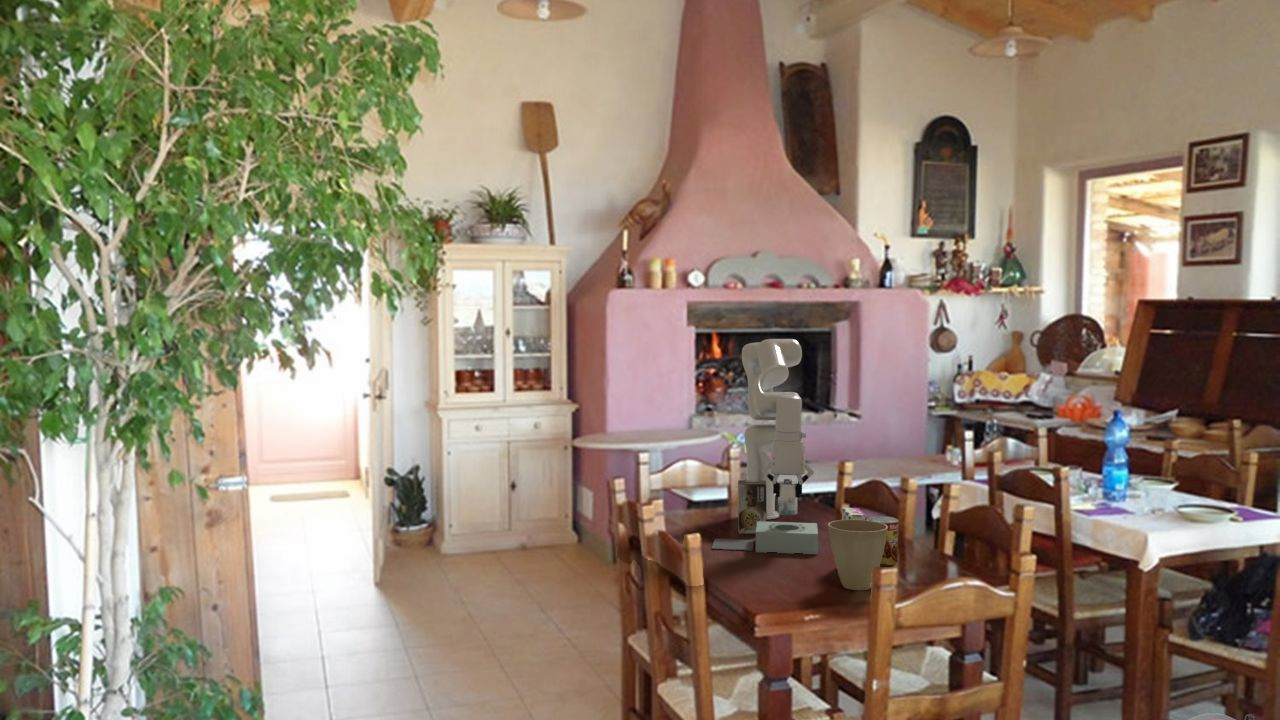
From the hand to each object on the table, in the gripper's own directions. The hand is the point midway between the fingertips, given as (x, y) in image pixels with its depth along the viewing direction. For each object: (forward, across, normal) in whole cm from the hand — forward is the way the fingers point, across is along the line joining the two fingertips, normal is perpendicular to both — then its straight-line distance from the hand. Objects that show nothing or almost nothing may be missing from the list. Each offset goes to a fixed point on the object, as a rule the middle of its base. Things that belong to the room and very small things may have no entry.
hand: (787, 496), depth 285 cm
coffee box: (+16, +11, -18) cm, 27 cm away
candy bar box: (+15, -18, +24) cm, 33 cm away
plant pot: (+15, -18, +39) cm, 45 cm away
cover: (+5, 0, 0) cm, 5 cm away
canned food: (+15, -27, +13) cm, 33 cm away
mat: (+15, +16, +1) cm, 22 cm away
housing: (+15, 0, +1) cm, 15 cm away
